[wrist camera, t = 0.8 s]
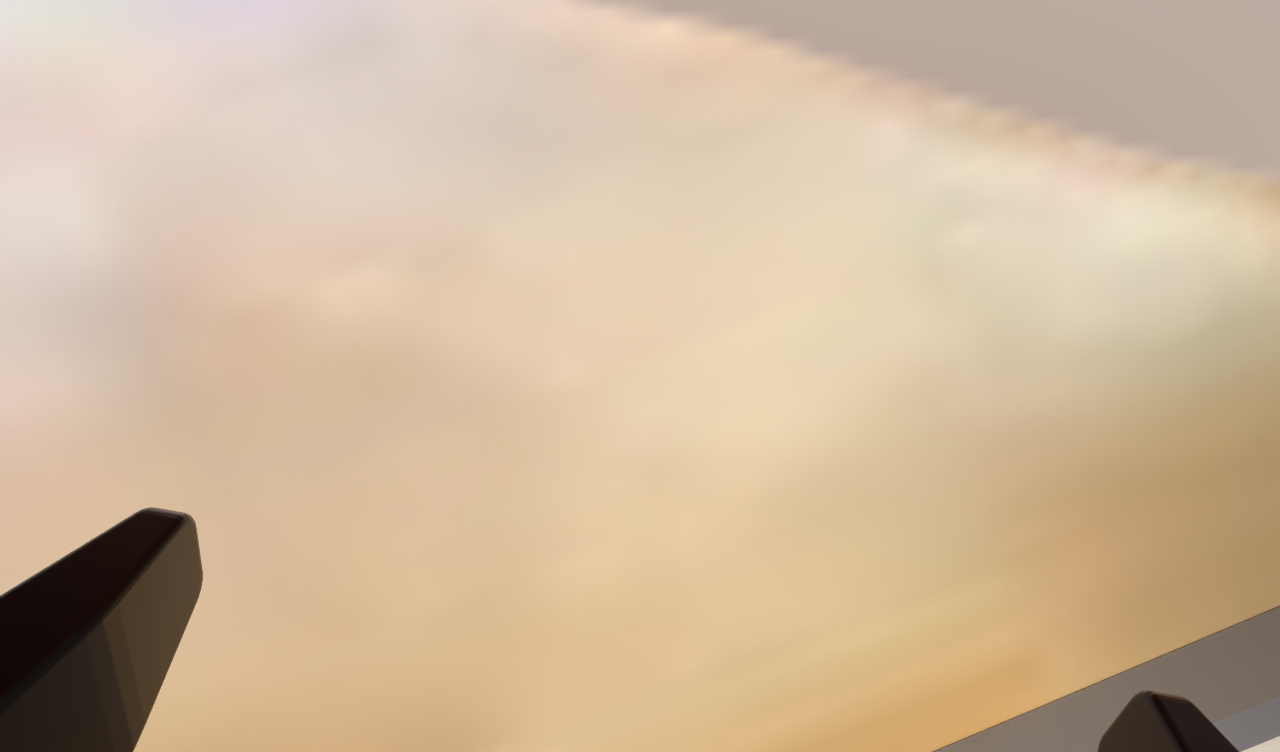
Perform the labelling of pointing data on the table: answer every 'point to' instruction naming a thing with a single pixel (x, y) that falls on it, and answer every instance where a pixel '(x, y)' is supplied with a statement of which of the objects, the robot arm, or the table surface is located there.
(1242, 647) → the track
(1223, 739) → the robot arm
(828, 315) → the table surface
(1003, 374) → the table surface
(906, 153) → the table surface
